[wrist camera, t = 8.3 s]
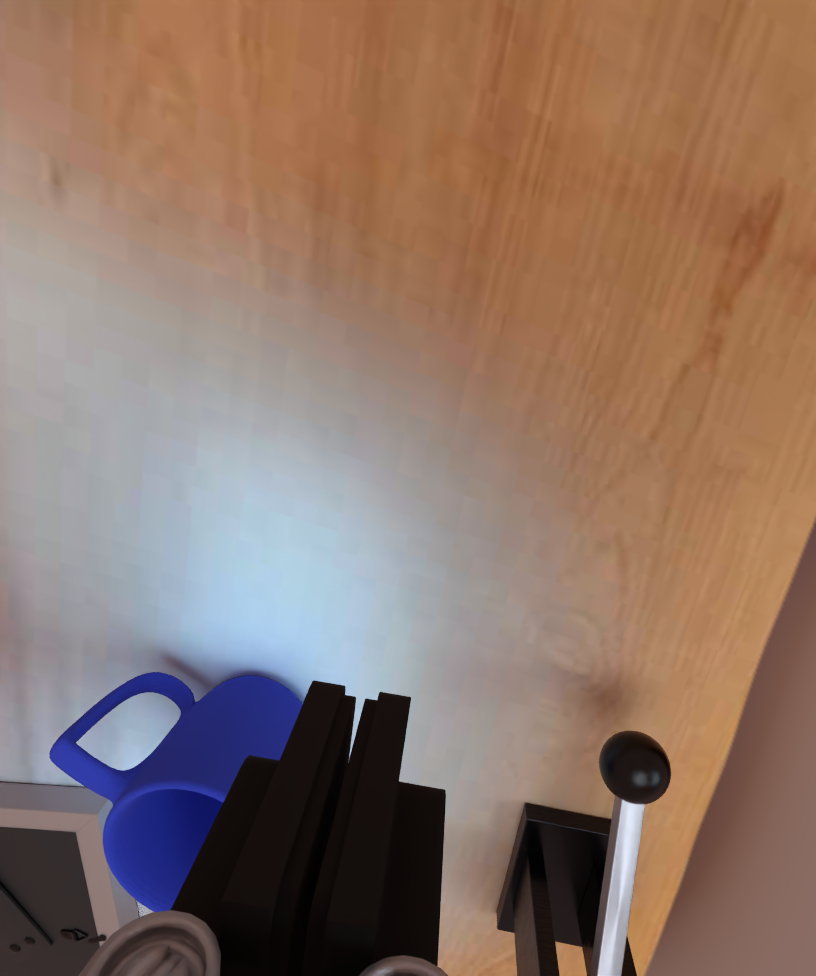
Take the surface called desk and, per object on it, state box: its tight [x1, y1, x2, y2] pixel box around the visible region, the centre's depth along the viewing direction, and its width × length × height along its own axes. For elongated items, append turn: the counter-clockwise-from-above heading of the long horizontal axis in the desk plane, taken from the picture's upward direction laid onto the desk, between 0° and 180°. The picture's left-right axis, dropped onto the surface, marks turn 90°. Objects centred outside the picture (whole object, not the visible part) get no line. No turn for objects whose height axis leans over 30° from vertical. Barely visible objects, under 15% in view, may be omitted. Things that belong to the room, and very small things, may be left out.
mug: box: [50, 672, 302, 912], centre depth 33 cm, size 8×12×10 cm
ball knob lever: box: [589, 731, 671, 976], centre depth 29 cm, size 17×3×3 cm, turn 171°
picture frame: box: [0, 782, 139, 976], centre depth 43 cm, size 16×3×21 cm
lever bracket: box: [497, 804, 637, 976], centre depth 33 cm, size 9×6×13 cm, turn 171°
